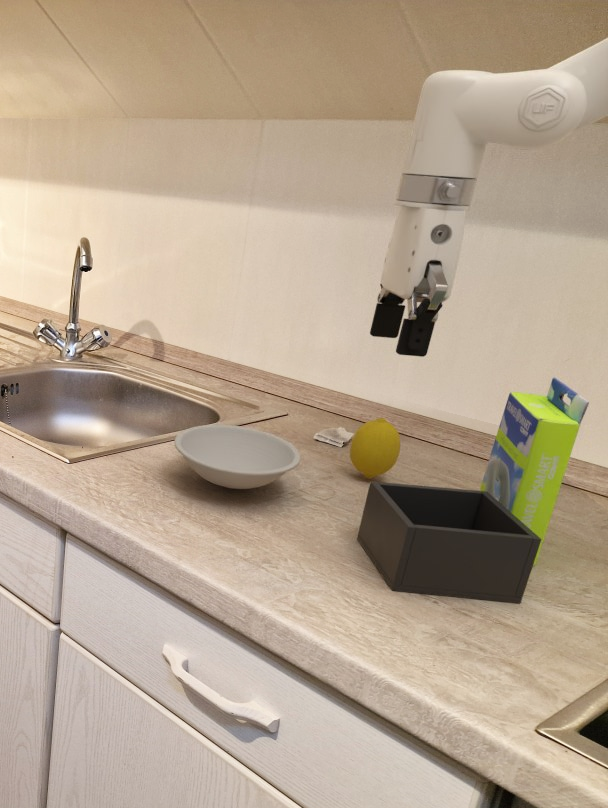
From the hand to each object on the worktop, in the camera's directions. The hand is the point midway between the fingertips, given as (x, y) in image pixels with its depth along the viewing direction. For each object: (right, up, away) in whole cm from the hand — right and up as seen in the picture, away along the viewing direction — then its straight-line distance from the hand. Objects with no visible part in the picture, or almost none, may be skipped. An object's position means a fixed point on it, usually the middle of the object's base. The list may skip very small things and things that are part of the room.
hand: (396, 345), depth 101 cm
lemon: (-1, -16, +6) cm, 17 cm away
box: (+6, -23, -10) cm, 26 cm away
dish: (-19, -17, +2) cm, 26 cm away
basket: (-5, -25, -17) cm, 30 cm away
